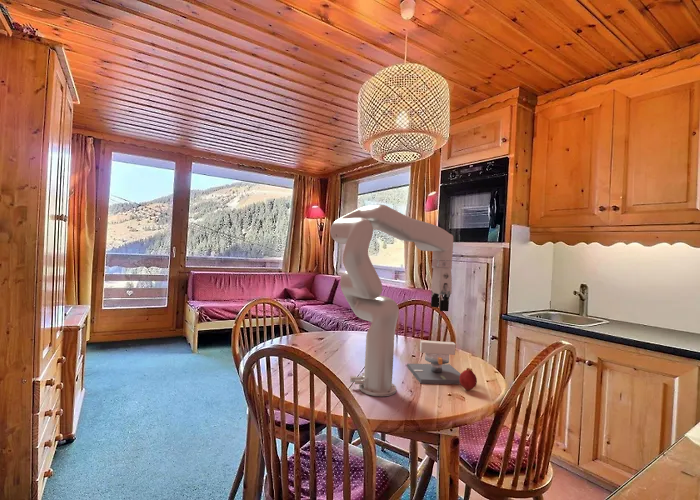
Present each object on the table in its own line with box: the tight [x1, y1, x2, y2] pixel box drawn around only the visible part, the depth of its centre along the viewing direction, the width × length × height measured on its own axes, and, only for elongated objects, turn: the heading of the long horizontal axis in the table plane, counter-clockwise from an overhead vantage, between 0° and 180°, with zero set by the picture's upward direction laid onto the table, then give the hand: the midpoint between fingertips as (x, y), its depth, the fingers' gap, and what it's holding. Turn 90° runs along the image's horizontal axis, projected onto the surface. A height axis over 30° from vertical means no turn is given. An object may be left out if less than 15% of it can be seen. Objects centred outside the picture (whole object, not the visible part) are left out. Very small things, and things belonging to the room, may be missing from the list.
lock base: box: [406, 362, 462, 385], centre depth 139 cm, size 18×18×6 cm
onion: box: [459, 367, 478, 392], centre depth 125 cm, size 6×6×8 cm
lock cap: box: [419, 339, 457, 365], centre depth 138 cm, size 11×13×7 cm
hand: (439, 308), depth 139 cm, fingers open, 9 cm apart
